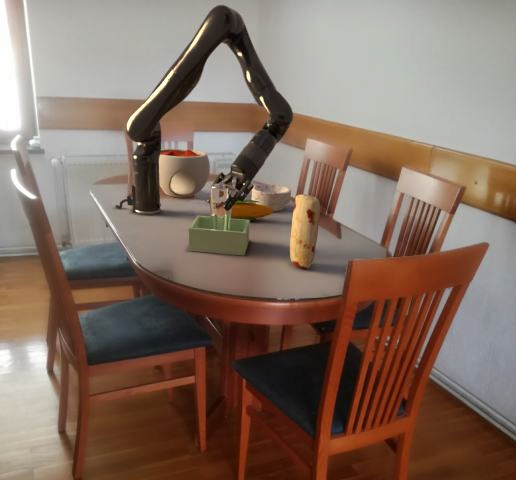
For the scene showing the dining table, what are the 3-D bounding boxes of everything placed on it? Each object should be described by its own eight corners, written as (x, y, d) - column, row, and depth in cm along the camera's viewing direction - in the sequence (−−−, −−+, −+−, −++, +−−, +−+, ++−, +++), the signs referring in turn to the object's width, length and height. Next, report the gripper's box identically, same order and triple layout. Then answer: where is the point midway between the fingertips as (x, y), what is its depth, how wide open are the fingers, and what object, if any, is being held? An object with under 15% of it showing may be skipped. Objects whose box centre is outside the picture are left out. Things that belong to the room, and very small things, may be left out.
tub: (188, 250, 155) (188, 228, 151) (197, 236, 167) (197, 215, 164) (244, 255, 154) (245, 232, 151) (248, 241, 167) (249, 220, 164)
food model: (282, 261, 151) (288, 191, 142) (302, 259, 154) (309, 190, 145) (299, 273, 144) (307, 199, 134) (320, 270, 147) (329, 198, 137)
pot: (220, 196, 220) (222, 151, 212) (184, 205, 202) (184, 157, 194) (176, 186, 231) (176, 144, 223) (138, 194, 213) (136, 148, 204)
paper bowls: (262, 214, 197) (263, 193, 194) (244, 205, 209) (245, 184, 205) (296, 212, 204) (298, 191, 200) (277, 203, 216) (279, 183, 212)
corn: (217, 195, 186) (271, 196, 191) (216, 216, 190) (270, 216, 195) (220, 202, 180) (276, 202, 184) (219, 223, 184) (274, 223, 189)
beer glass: (235, 235, 161) (237, 185, 154) (227, 240, 156) (228, 189, 149) (214, 231, 163) (215, 182, 156) (205, 237, 157) (206, 186, 150)
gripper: (227, 150, 157) (195, 193, 156) (259, 157, 148) (225, 203, 147) (239, 167, 163) (209, 209, 162) (271, 175, 154) (239, 219, 152)
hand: (217, 206), depth 154 cm, fingers closed on beer glass, 7 cm apart
